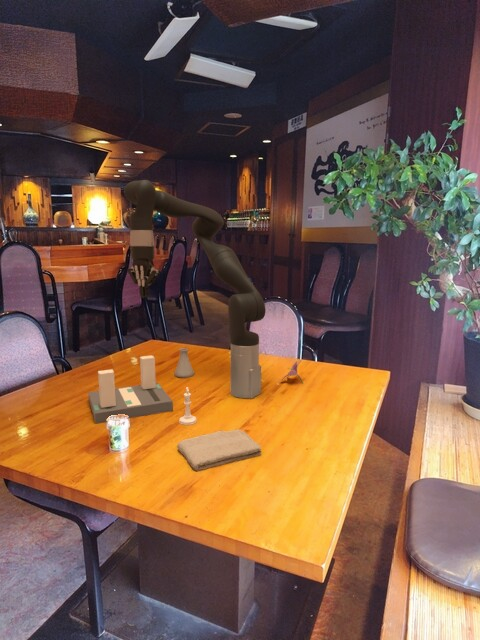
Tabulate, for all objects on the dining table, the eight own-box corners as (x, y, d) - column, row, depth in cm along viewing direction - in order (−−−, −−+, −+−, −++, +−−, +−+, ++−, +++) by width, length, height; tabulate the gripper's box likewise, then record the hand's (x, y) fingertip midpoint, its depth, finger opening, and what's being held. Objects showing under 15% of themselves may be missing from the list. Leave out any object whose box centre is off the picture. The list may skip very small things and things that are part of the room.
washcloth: (264, 456, 103) (264, 444, 103) (194, 475, 95) (194, 462, 95) (241, 436, 114) (241, 425, 113) (176, 451, 106) (176, 439, 105)
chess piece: (182, 426, 118) (181, 391, 116) (176, 419, 122) (175, 386, 120) (199, 422, 120) (198, 388, 118) (192, 416, 125) (192, 383, 123)
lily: (301, 378, 161) (290, 357, 161) (319, 374, 152) (307, 352, 152) (280, 393, 155) (269, 371, 155) (298, 390, 146) (286, 367, 146)
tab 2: (141, 386, 139) (139, 356, 137) (153, 384, 141) (152, 355, 139) (143, 389, 137) (141, 359, 135) (155, 387, 138) (154, 357, 136)
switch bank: (89, 401, 136) (88, 391, 135) (158, 391, 145) (157, 382, 144) (95, 423, 120) (95, 412, 119) (172, 410, 129) (172, 400, 128)
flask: (197, 374, 162) (197, 348, 160) (185, 379, 156) (184, 352, 154) (183, 371, 166) (182, 345, 164) (170, 376, 160) (169, 350, 158)
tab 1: (100, 404, 125) (97, 371, 123) (114, 402, 126) (112, 369, 124) (101, 407, 122) (99, 374, 120) (115, 405, 124) (113, 372, 122)
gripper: (119, 244, 141) (121, 297, 144) (148, 245, 134) (151, 300, 137) (136, 244, 147) (138, 294, 150) (165, 244, 140) (166, 297, 143)
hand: (144, 297), depth 144 cm, fingers closed
